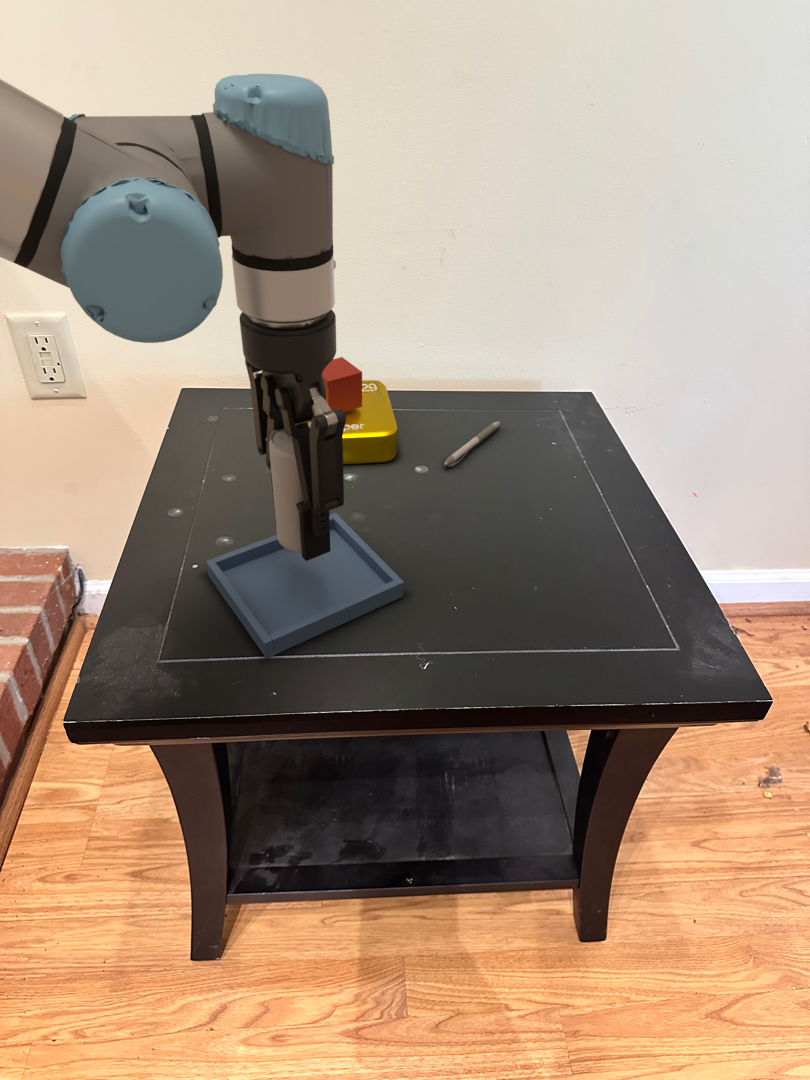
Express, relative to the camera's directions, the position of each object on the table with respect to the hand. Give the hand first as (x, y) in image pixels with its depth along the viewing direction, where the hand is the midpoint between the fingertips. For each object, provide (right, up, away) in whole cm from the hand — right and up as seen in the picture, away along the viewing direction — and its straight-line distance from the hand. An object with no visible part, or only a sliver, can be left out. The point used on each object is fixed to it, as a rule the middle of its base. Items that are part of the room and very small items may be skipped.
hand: (302, 538), depth 72 cm
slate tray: (0, -5, +4) cm, 6 cm away
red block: (+1, +18, +24) cm, 30 cm away
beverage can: (0, 0, 0) cm, 1 cm away
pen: (+19, +12, +26) cm, 35 cm away
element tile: (+1, +14, +27) cm, 31 cm away
